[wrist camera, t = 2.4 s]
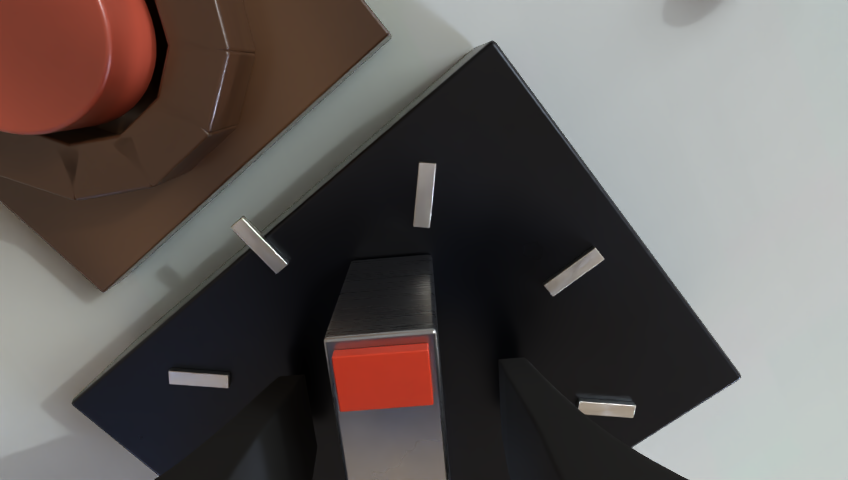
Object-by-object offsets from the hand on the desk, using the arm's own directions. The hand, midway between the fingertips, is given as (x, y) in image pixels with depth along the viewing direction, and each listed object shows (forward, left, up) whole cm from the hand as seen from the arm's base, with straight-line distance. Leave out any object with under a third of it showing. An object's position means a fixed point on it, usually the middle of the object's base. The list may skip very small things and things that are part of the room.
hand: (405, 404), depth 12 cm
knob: (0, 0, 0) cm, 0 cm away
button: (0, +11, -1) cm, 11 cm away
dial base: (0, 0, -3) cm, 3 cm away
